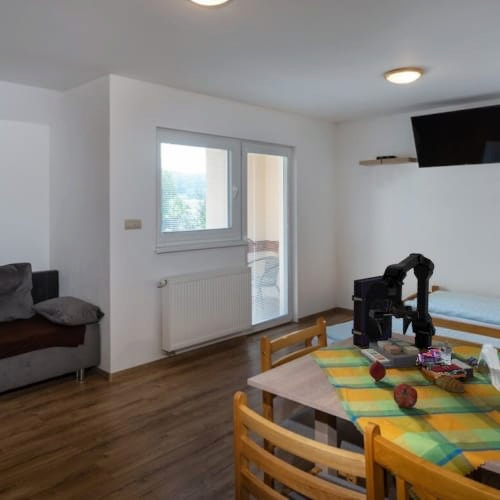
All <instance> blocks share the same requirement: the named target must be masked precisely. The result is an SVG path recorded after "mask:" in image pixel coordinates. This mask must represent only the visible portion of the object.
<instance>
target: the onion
mask: <svg viewBox="0 0 500 500" xmlns="http://www.w3.org/2000/svg"><path fill="white" fill-rule="evenodd" d="M386 369H387V368H386ZM386 369H385V367H384V366H383V365H382V364H381V363H380V362H379V361H378V360H376V362H375V363H371V365H370V367H369V370H368V372H369V375H370V376H371V378H372V379H373V380H374V381H375V382H380V381H381V380H383V379H384V378H385V376H386V375H387V371H386Z"/></svg>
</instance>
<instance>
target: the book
mask: <svg viewBox="0 0 500 500" xmlns="http://www.w3.org/2000/svg"><path fill="white" fill-rule="evenodd" d="M382 277H383V274H382V275H376V276H370V277H365V278H359V279H354V280H353V294H352V295H351V301H353V306H352V307H353V312H352V315H353V316H352V317H353V318H352V320H353V322H352V323H353V326H352V328H351V335H353V336H352V344H353V346H355V345H360V347H362V348H363V347H367V346H369V343H373V342H378V341H386V340H388V338H393V316H384V317H383V318H382V319H384V322H383V335H381V332H380V330H379V327H378V324H377V322H376V320H375V319H373V318H372V317H370V316H369V312H370V310H371V309H379V310H381V311H383V312H387V311H386V308H387V301H386V299H384V300H381V299H379V298H378V297H377V296H376V293H375V290H376V288H377V287H378V286H379V285H380V282H381V279H382ZM389 314H390V313H389Z"/></svg>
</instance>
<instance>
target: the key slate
mask: <svg viewBox="0 0 500 500" xmlns="http://www.w3.org/2000/svg"><path fill="white" fill-rule="evenodd" d="M387 341H389V342H391V343H392V345H395V343H396V342H404V341H403V340H402V339H400V338H398V337H391V338H388V339H387Z"/></svg>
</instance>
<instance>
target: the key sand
mask: <svg viewBox="0 0 500 500" xmlns="http://www.w3.org/2000/svg"><path fill="white" fill-rule="evenodd" d="M403 352H404V353H405V354H407V355H418V354H419V353H420V349H419V348H417V347H416V346H414V345H412V346H411V345H410V347H403Z"/></svg>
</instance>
